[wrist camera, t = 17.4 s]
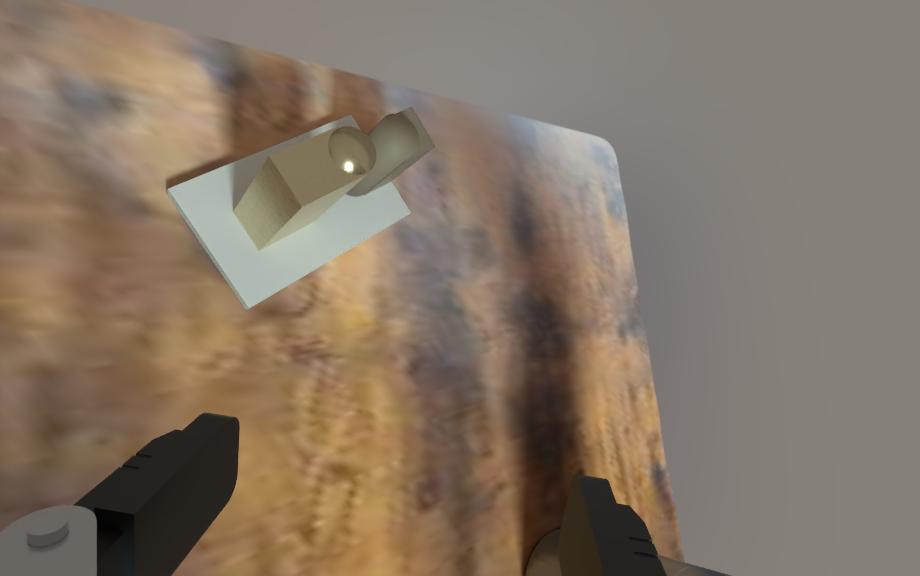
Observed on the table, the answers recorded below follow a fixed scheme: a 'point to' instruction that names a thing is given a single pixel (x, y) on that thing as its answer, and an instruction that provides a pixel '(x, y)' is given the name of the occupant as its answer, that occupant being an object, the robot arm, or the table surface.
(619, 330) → the table surface
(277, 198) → the brown tall block
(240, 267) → the mounting plate
